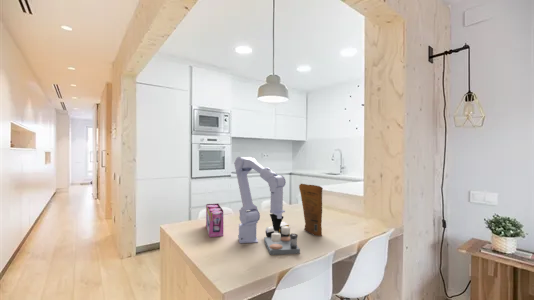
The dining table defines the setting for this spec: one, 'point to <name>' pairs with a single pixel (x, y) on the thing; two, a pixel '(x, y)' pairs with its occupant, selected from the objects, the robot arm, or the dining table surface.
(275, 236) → the knob
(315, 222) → the pancake mix bag
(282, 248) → the mount board
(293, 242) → the pot post
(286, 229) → the knob
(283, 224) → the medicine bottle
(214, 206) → the gum box
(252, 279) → the dining table surface
